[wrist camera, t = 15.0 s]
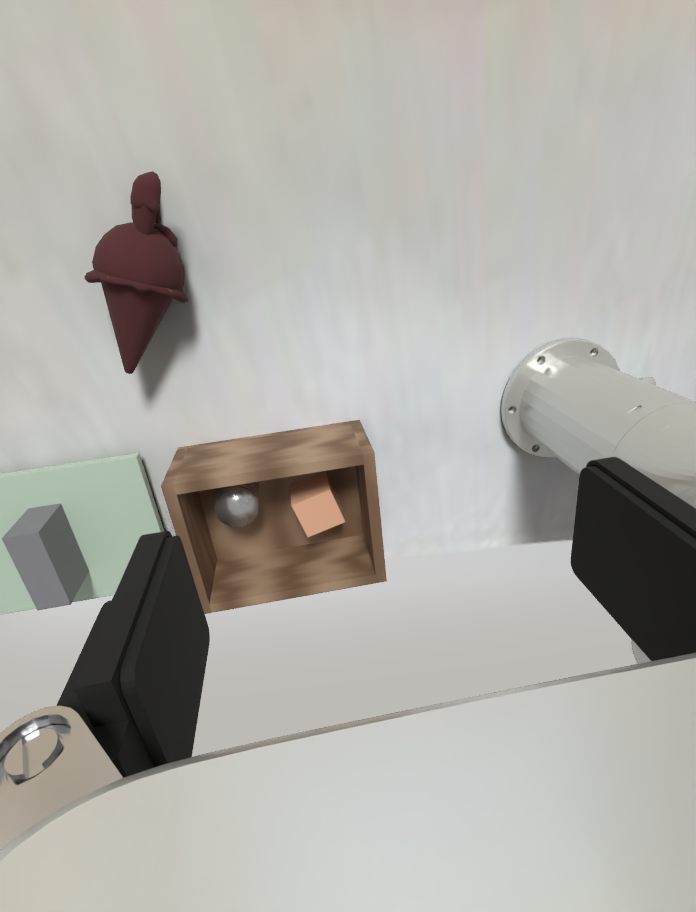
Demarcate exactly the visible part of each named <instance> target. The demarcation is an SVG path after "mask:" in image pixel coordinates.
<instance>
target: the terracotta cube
mask: <svg viewBox="0 0 696 912" xmlns="http://www.w3.org/2000/svg"><path fill="white" fill-rule="evenodd" d="M290 494H291V506H292V508H293V510H294V512H295V514H296V516H297V518H298V519H299V521H300V523H301V525H302V527H303V529H304V531H305V533H306V535H307V537H310V536H313V535H315V534H317V533H320V532H322V531H325V530H327V529H330V528H332V527H335V526H337V525H339V524H342V523H344V522H345V518H344V514H343V510H342V506H341V502H340V500H339V498H338V495H337V493H336V491H335V489H334V487H333V485H332V483H331V480H330V478H329V476H328V474H327V472H326V471H325V472H322V473H320V474H317V475H315V476H313V477H310V478H308V479H305V480H303V481H300V482H298V483H296V484H293V485H291V486H290Z"/></svg>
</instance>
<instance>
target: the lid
mask: <svg viewBox="0 0 696 912" xmlns="http://www.w3.org/2000/svg"><path fill="white" fill-rule="evenodd" d="M158 532H164V529H163V526H162V523H161V519H160V516H159V513H158V510H157V507H156V504H155V501H154V498H153V495H152V492H151V488H150V485H149V482H148V479H147V476H146V473H145V470H144V467H143V464H142V461H141V457H140V454H139V453H134V454H127V455H121V456H114V457H108V458H101V459H94V460H88V461H81V462H74V463H68V464H61V465H55V466H48V467H41V468H35V469H28V470H22V471H15V472H8V473H2V474H0V615H1V614H7V613H12V612H18V611H24V610H30V609H37V610H42V609H47V608H53V607H59V606H64V605H70V604H71V603H72V602H76V601H82V600H87V599H94V598H99V597H105V596H111V595H115V592H116V590H117V588H118V585H119V583H120V581H121V579H122V576H123V574H124V572H125V570H126V567H127V565H128V563H129V561H130V558H131V556H132V554H133V551H134V549H135V547H136V545H137V542H138V540H139V538H140V536H141V535H145V534H151V533H158Z"/></svg>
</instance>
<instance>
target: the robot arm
mask: <svg viewBox="0 0 696 912" xmlns="http://www.w3.org/2000/svg"><path fill="white" fill-rule="evenodd" d="M538 357H539V359H538ZM537 359H538V360H537ZM509 408H510V409H509ZM501 414H502V422H503V425H504V428H505V430H506V432H507V434H508V435H509V437H510V439H511V440H512V441H513V442H514V443H515V444H516V445H517V446H519V447H520V448H521V449H523V450H524V451H525V452H527V453H529V454H531V455H535V456H539V457H550V458H554V457H557V458H558V459H559V460H560V461H562V462H563V463H564V464H565V465H567V466H568V467H569V468H570V469H572V470H573V471H574V472H575V473H577V474H578V475H579V476H580V478H579V487H578V497H577V506H576V515H575V525H574V534H573V543H572V553H571V566H572V569H573V571H574V573H575V575H576V576H577V577H578V578H579V580H580V581H581V582H582V583H583V584H584V585H585V586H586V588H587V589H588V590H589V591H590V592H591V593H592V594H593V596H594V597H595V598H596V599H597V600H598V601H599V602H600V603H601V605H602V606H603V607H604V608H605V609H606V610H607V611H608V612H609V614H610V615H611V616H612V617H613V618H614V619H615V620H616V622H617V623H618V624H619V625H620V626H621V627H622V629H623V630H624V631H625V632H626V633H627V634H628V635H629V636H630V638H631V639H632V650H633V654H634V656H635V659H636V661H637V663H638V664H636V665H631V666H625V667H620V668H615V669H610V670H605V671H600V672H595V673H590V674H584V675H580V676H575V677H570V678H564V679H559V680H554V681H549V682H545V683H539V684H534V685H529V686H525V687H519V688H515V689H509V690H505V691H500V692H494V693H490V694H485V695H480V696H475V697H470V698H465V699H460V700H455V701H450V702H445V703H440V704H435V705H430V706H425V707H421V708H416V709H411V710H406V711H401V712H396V713H392V714H387V715H382V716H377V717H373V718H368V719H363V720H358V721H354V722H349V723H344V724H339V725H334V726H329V727H324V728H320V729H315V730H310V731H306V732H301V733H296V734H291V735H287V736H282V737H277V738H273V739H268V740H264V741H259V742H255V743H250V744H246V745H241V746H237V747H232V748H228V749H224V750H220V751H215V752H211V753H206V754H202V755H198V756H195V757H191V756H192V750H193V744H194V737H195V731H196V724H197V718H198V712H199V706H200V699H201V693H202V687H203V680H204V674H205V667H206V661H207V655H208V648H209V628H208V624H207V621H206V618H205V615H204V611H203V608H202V605H201V602H200V598H199V595H198V592H197V589H196V585H195V582H194V579H193V576H192V573H191V569H190V566H189V563H188V560H187V556H186V553H185V550H184V547H183V543H182V541H181V538H180V537H179V536H173V537H172V535H171V533H170V532H169V531H164V532H158V533H151V534H145V535H141V536H140V538H139V540H138V542H137V545H136V547H135V549H134V551H133V554H132V556H131V558H130V561H129V563H128V565H127V567H126V570H125V572H124V574H123V576H122V579H121V581H120V583H119V585H118V588H117V590H116V592H115V595H114V597H113V599H112V601H108V602H106V603H105V604H104V605H103V607H102V608H101V610H100V612H99V615H98V617H97V619H96V621H95V623H94V625H93V627H92V630H91V632H90V634H89V636H88V638H87V641H86V643H85V645H84V647H83V649H82V651H81V654H80V656H79V658H78V660H77V662H76V664H75V667H74V669H73V671H72V673H71V675H70V678H69V680H68V682H67V684H66V686H65V688H64V691H63V693H62V695H61V697H60V699H59V701H58V704H57V706H54V707H46V708H43V709H40V710H38V711H34V712H32V713H30V714H28V715H26V716H24V717H23V718H21V719H19V720H17V721H16V722H14V723H13V724H12V725H10V726H9V727H8V728H6V729H5V730H4V731H3V732H2V733H0V912H696V402H695V401H692V400H690V399H687V398H685V397H682V396H680V395H677V394H675V393H672V392H670V391H667V390H665V389H662V388H660V387H657V386H656V382H655V379H654V378H653V377H646V378H640V379H638V378H635V377H633V376H630V375H628V374H625V373H623V372H620V370H619V367H618V365H617V363H616V361H615V359H614V358H613V357H612V355H611V354H610V353H609V352H608V351H607V350H605V349H604V348H603V347H601V346H600V345H597V344H595V343H593V342H590V341H586V340H583V339H572V338H569V339H562V340H557V341H554V342H551V343H548V344H546V345H544V346H542V347H540V348H539V349H537V350H535V351H534V352H533V353H531V354H530V355H529V356H528V357H526V358H525V359H524V360H523V361H522V362H521V364H520V365H519V366H518V367H517V368H516V370H515V371H514V373H513V374H512V376H511V377H510V379H509V381H508V383H507V385H506V388H505V391H504V394H503V398H502V406H501Z"/></svg>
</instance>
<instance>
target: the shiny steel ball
mask: <svg viewBox="0 0 696 912" xmlns="http://www.w3.org/2000/svg"><path fill="white" fill-rule="evenodd" d="M258 506H259V484H258V482H252V483H246V484H240V485H234V486H227V487H221V488H218V493H217V498H216V502H215V514H216V516H217V518H218V519H219V520H220V521H221V522H222V523H223V524H225V525H227V526H230V527H243V526H246V525H248V524H250V523H251V522H252V521H253V520H254V519H255V518H256V516H257V514H258Z"/></svg>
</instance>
